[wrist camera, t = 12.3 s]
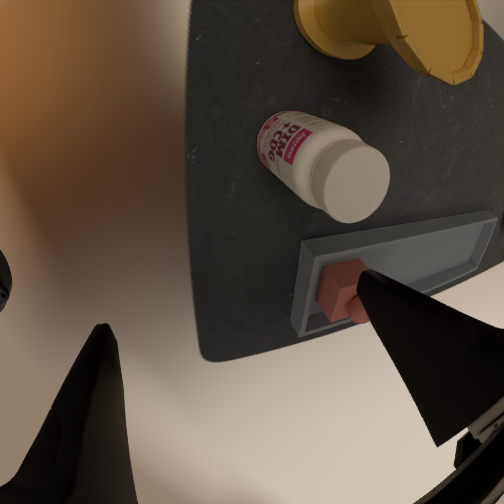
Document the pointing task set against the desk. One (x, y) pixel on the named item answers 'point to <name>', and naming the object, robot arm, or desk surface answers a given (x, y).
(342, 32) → the footed bowl
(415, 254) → the tray
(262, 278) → the desk surface
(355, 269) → the red knobbed block
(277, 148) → the pill bottle
